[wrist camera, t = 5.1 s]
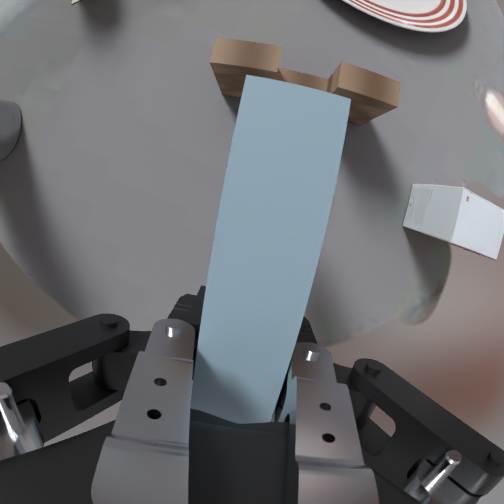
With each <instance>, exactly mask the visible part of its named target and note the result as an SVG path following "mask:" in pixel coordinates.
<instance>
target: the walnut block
mask: <svg viewBox="0 0 504 504" xmlns="http://www.w3.org/2000/svg"><path fill="white" fill-rule="evenodd" d="M281 52H282V47H279V46H274V45H268V44H262V43H256V42H249V41H242V40H234V39H225V38H216V41H215V44H214V48H213V52H212V55H211V59H210V64H211V67H212V69H213V72H214V75H215V77H216V80H217V82H218V85H219V87H220V90H221V92H222V95H229V96H236V97H242V92H243V88H244V83H245V79H246V75H251V76H257V77H263V78H268V79H273V80H278V81H283V82H288V83H292V84H297V85H301V86H305V87H309V88H313V89H317V90H321V91H325V92H329V93H332V94H336V95H339V96H343V97H346V98H349V99H351V103H350V109H349V116H348V122H351V123H355V124H358V125H361V124H364V123H366V122H368V121H370V120H372V119H374V118H376V117H378V116H380V115H382V114H384V113H386V112H388V111H390V110H392V109H395V108H397V107H398V99H399V89H400V82H398V81H395V80H393V79H390V78H388V77H385V76H382V75H380V74H377V73H374V72H371V71H368V70H366V69H363V68H360V67H357V66H353V65H350V64H347V63H344V62H341V63H340V65H339V66H338V67H337V69H336V70H335V71H334V72H333V74H332V75H331V76H330V78H329V79H324V78H321V77H317V76H313V75H309V74H305V73H300V72H296V71H291V70H287V69H282V68H278V66H279V61H280V57H281Z"/></svg>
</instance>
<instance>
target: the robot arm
mask: <svg viewBox="0 0 504 504" xmlns="http://www.w3.org/2000/svg"><path fill="white" fill-rule="evenodd" d="M20 128H21V113H20V110H19V107H18V106H17V104H15V103H14V102H9V101H5V100H1V99H0V160H1V159H4V158H5V157H7V156H8V155H9V154H10V153H11V151H12V150H13V148H14V146H15V144H16V142H17V140H18V137H19V133H20ZM205 290H206V286H201V287H200V290H199V292H198V294H197V296H195V295H191V294H186V295H184V296H182V297H180V298H179V300H178V301H177V303H176V305H175V306H174V308H173V310H172V311H171V313H170V315H169V316H168V318H167V319H162V320H159V321H157V322H156V323H155V324H154V326H153V329H152V331H129V329H130V325H129V322H128V321H127V320H126V319H125V318H123V317H121V316H119V315H115V314H99V315H96V316H93V317H90V318H87V319H84V320H81V321H78V322H75V323H72V324H69V325H66V326H63V327H60V328H56V329H53V330H51V331H47V332H45V333H41V334H38V335H35V336H32V337H29V338H26V339H23V340H20V341H17V342H14V343H11V344H8V345H5V346H2V347H0V504H477V503H478V502H479V501H480V500H481V499H483V498H484V497H485V495H487V494H488V493H489V492H490V491H491V490H492V489H493V488H494V487H495V486H496V485H497V484H498V483H499V482H500V480H502V479H503V478H504V451H503V450H502V449H501V448H499V447H498V446H496V445H495V444H493V443H492V442H491V441H489V440H488V439H486V438H485V437H484V436H482V435H481V434H479V433H478V432H477V431H475V430H474V429H472V428H471V427H469V426H468V425H467V424H465V423H464V422H462V421H461V420H460V419H458V418H457V417H456V416H454V415H453V414H451V413H450V412H449V411H447V410H446V409H444V408H443V407H442V406H440V405H439V404H437V403H436V402H435V401H433V400H432V399H431V398H429V397H428V396H426V395H425V394H424V393H422V392H421V391H420V390H418V389H417V388H415V387H414V386H412V385H411V384H410V383H409V382H407V381H405V380H404V379H403V378H402V377H400V376H399V375H397V374H396V373H395V372H393V371H392V370H391V369H389V368H388V367H387V366H385V365H384V364H382V363H380V362H378V361H376V360H372V359H359V360H357V361H355V363H354V365H353V368H348V367H344V366H340V365H337V364H335V363H333V361H332V356H331V353H330V352H329V351H328V350H327V349H326V348H324V347H322V346H320V345H318V344H317V342H316V339H315V336H314V334H313V331H312V328H311V326H310V323H309V321H308V320H307V319H306V318H305V317H304V316H303V320H302V323H301V327H300V330H299V334H298V337H297V341H296V344H295V347H294V350H293V354H292V357H291V360H290V363H289V367H288V370H287V373H286V376H285V379H284V382H283V385H282V388H281V391H280V394H279V397H278V400H277V403H276V406H275V409H274V412H273V415H272V422H264V423H247V424H239V423H234V422H231V421H228V420H225V419H222V418H220V417H217V416H214V415H211V414H209V413H206V412H203V411H201V410H196V409H191V408H190V405H191V389H192V380H193V378H194V370H195V362H196V354H197V347H198V339H199V332H200V325H201V318H202V311H203V304H204V297H205ZM91 361H92V368H93V371H92V372H90V373H88V374H86V375H84V376H82V377H79V378H77V379H75V380H73V381H71V382H69V375H70V373H71V372H72V371H73V370H74V369H75V368H77V367H80V366H82V365H84V364H86V363H89V362H91ZM120 400H122V402H121V405H120V408H119V411H118V414H117V417H116V420H114V421H112V422H109V423H107V424H104V425H102V426H100V427H97V428H94V429H92V430H89V431H87V432H84V433H82V434H79V435H76V436H74V437H71V438H69V439H65V440H63V441H60V442H57V443H54V444H51V445H48V446H45V447H43V446H44V443H45V442H46V441H49V440H50V439H52V438H54V437H56V436H58V435H60V434H62V433H64V432H66V431H67V430H69V429H71V428H73V427H75V426H77V425H78V424H80V423H82V422H84V421H86V420H87V419H89V418H91V417H93V416H94V415H96V414H98V413H100V412H101V411H103V410H105V409H107V408H109V407H110V406H112V405H114V404H115V403H117V402H119V401H120ZM376 405H377V406H378V407H379V408H380V409H382V410H383V411H384V412H385V413H386V414H387V415H389V416H390V417H391V418H392V419H393V420H394V422H395V424H396V430H395V433H394V434H393V436H392V437H390V436H389V435H388V434H387V433H386V432H384V431H383V430H382V429H381V428H380V427H379V426H378V425H376V424H375V423H374V422H373V421H372V420H371V419H370V416H371V414H372V412H373V410H374V409H375V407H376Z"/></svg>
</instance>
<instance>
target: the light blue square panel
mask: <svg viewBox="0 0 504 504" xmlns="http://www.w3.org/2000/svg"><path fill="white" fill-rule="evenodd" d="M350 103H351V99H349V98H346V97H343V96H339V95H336V94H332V93H329V92H325V91H321V90H317V89H313V88H309V87H305V86H301V85H297V84H292V83H288V82H283V81H278V80H273V79H268V78H263V77H257V76H251V75H246V79H245V83H244V88H243V92H242V97H241V101H240V106H239V110H238V115H237V120H236V125H235V129H234V134H233V139H232V144H231V149H230V154H229V159H228V164H227V169H226V174H225V179H224V185H223V190H222V195H221V201H220V206H219V212H218V218H217V223H216V229H215V235H214V241H213V247H212V253H211V259H210V265H209V271H208V278H207V284H206V290H205V297H204V304H203V311H202V318H201V325H200V332H199V339H198V347H197V354H196V362H195V370H194V378H193V386H192V395H191V405H190V408H191V409H196V410H201V411H203V412H206V413H209V414H211V415H214V416H217V417H220V418H222V419H225V420H228V421H231V422H234V423H239V424H247V423H264V422H270V420H271V417H272V415H273V412H274V409H275V406H276V403H277V400H278V397H279V394H280V391H281V388H282V385H283V382H284V379H285V376H286V373H287V370H288V367H289V363H290V360H291V357H292V354H293V350H294V347H295V344H296V341H297V337H298V334H299V330H300V327H301V323H302V320H303V316H304V313H305V309H306V306H307V302H308V299H309V295H310V291H311V287H312V284H313V280H314V276H315V272H316V268H317V264H318V260H319V256H320V252H321V248H322V244H323V240H324V236H325V231H326V227H327V223H328V218H329V214H330V209H331V205H332V200H333V196H334V191H335V186H336V181H337V176H338V171H339V166H340V161H341V156H342V150H343V145H344V139H345V133H346V128H347V122H348V116H349V109H350Z"/></svg>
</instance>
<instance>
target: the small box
mask: <svg viewBox="0 0 504 504" xmlns="http://www.w3.org/2000/svg"><path fill="white" fill-rule="evenodd" d="M403 226H404V227H406V228H409V229H412V230H415V231H418V232H421V233H423V234H426V235H429V236H432V237H434V238H437V239H439V240H442V241H444V242H447V243H450V244H452V245H455V246H458V247H460V248H463V249H465V250H468V251H471V252H474V253H476V254H479V255H482V256H485V257H488V258H490V259H493V260H496V258H497V256H498V252H499V249H500V245H501V242H502V237H503V234H504V209H502V208H500V207H498V206H496V205H494V204H493V203H491V202H489V201H487V200H485V199H483V198H482V197H480V196H478V195H476V194H474V193H473V192H471V191H469V190H468V189H466V188H464V187H455V186H443V185H430V184H413V186H412V191H411V195H410V199H409V203H408V207H407V211H406V215H405V219H404V223H403Z"/></svg>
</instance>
